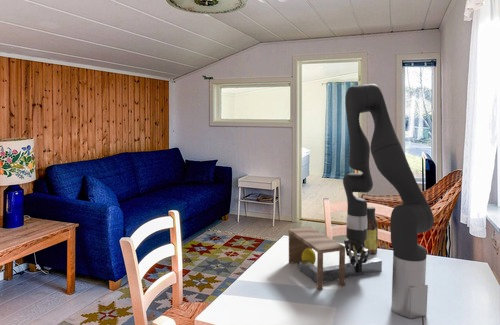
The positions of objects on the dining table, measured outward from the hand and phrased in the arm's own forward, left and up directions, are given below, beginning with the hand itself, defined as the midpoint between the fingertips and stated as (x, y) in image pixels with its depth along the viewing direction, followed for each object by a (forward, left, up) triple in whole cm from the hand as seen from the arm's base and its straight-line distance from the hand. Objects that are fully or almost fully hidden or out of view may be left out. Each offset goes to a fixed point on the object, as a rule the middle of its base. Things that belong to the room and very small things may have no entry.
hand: (355, 270), depth 141 cm
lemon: (+11, +14, -2) cm, 18 cm away
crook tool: (+4, +4, -1) cm, 6 cm away
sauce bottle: (+18, -19, -2) cm, 27 cm away
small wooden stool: (+5, +15, -1) cm, 16 cm away
